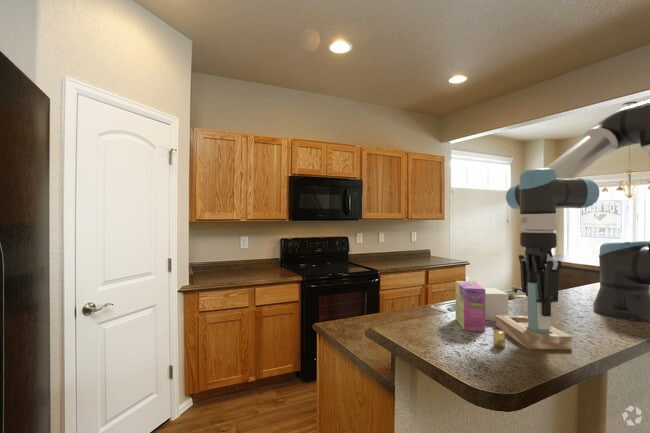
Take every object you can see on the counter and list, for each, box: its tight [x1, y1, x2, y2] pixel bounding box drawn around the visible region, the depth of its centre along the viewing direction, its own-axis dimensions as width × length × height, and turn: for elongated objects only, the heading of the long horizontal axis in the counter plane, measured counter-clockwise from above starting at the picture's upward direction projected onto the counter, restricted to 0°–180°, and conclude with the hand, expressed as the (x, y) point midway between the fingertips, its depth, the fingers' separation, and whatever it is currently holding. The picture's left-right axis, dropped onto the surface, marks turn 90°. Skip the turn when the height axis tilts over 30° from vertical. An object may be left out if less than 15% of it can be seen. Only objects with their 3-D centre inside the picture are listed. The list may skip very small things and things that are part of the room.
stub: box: [493, 329, 506, 349], centre depth 76 cm, size 2×2×4 cm
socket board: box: [494, 315, 573, 350], centre depth 82 cm, size 10×16×3 cm, turn 176°
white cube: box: [483, 287, 510, 321], centre depth 99 cm, size 8×8×8 cm
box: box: [455, 280, 486, 332], centre depth 92 cm, size 10×6×12 cm, turn 169°
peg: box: [527, 282, 550, 334], centre depth 78 cm, size 3×3×12 cm
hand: (538, 325), depth 78 cm, fingers closed on peg, 3 cm apart
